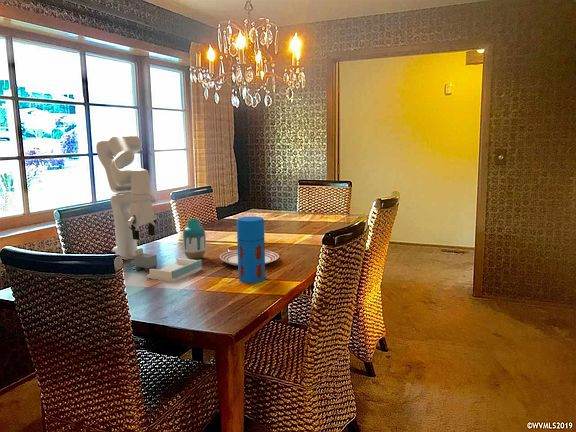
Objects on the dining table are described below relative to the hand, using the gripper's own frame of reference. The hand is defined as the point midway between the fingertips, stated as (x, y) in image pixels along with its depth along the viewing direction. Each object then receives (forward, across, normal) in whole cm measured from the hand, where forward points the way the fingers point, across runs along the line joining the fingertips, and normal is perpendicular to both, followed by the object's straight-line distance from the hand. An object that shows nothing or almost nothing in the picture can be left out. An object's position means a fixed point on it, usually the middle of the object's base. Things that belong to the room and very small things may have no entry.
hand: (144, 237), depth 199 cm
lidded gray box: (+15, 0, -1) cm, 15 cm away
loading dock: (+15, 0, +15) cm, 21 cm away
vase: (+15, -24, +8) cm, 30 cm away
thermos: (+16, -6, +49) cm, 52 cm away
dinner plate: (+16, -30, +35) cm, 49 cm away
